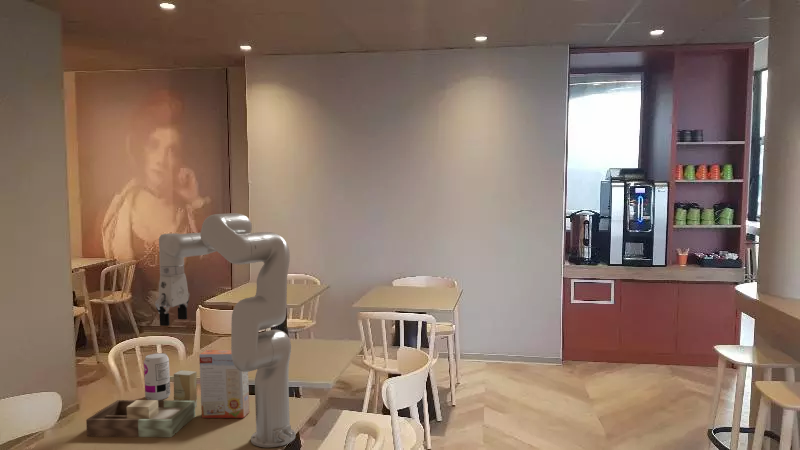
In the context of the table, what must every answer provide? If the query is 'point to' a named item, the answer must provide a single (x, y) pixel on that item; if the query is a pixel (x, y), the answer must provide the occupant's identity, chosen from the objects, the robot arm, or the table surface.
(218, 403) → the cracker box
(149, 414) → the maple block
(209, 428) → the table surface
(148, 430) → the track
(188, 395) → the skincare box
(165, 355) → the supplement can
